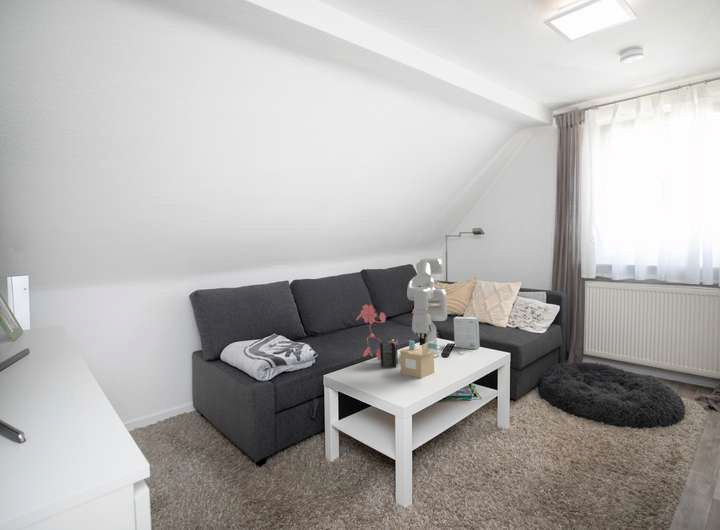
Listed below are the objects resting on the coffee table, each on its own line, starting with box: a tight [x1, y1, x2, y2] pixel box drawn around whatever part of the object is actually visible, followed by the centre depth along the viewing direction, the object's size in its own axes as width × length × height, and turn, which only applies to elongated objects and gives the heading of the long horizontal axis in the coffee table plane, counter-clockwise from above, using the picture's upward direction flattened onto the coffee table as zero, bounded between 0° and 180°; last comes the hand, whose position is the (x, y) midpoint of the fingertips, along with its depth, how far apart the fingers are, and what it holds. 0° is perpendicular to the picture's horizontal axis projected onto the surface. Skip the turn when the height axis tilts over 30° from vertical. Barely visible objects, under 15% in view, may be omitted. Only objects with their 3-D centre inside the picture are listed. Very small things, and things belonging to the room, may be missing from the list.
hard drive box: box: [453, 316, 481, 350], centre depth 278 cm, size 16×8×20 cm, turn 60°
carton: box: [399, 340, 435, 379], centre depth 228 cm, size 12×15×17 cm
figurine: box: [355, 303, 387, 364], centre depth 257 cm, size 15×26×35 cm, turn 46°
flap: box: [421, 340, 438, 356], centre depth 220 cm, size 11×6×5 cm
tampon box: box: [379, 338, 399, 368], centre depth 245 cm, size 11×9×15 cm
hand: (422, 344), depth 225 cm, fingers closed
